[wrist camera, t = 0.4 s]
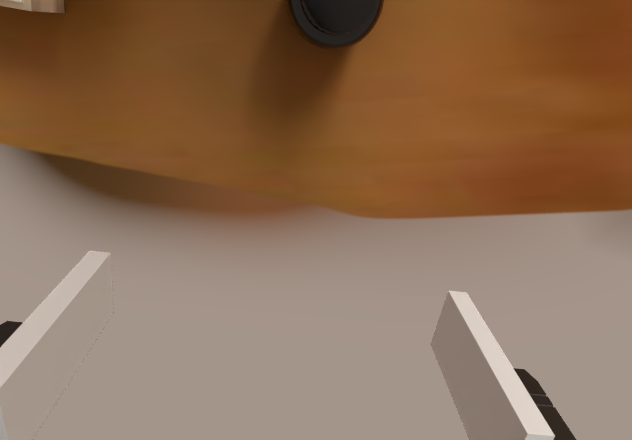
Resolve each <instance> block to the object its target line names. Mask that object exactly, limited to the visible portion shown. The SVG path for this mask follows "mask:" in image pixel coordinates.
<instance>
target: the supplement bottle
mask: <svg viewBox="0 0 632 440" xmlns="http://www.w3.org/2000/svg"><path fill="white" fill-rule="evenodd" d="M383 2H384V0H286V6H287V10H288V14H289V17H290V19H291V21H292V23H293V25H294V26H295V28H296V29H297V31H298V32H299V33H300V34H301V35H302V36H303V37H304V38H305V39H306V40H307V41H309V42H310V43H312V44H314V45H316V46H318V47H321V48H326V49H342V48H346V47H349V46H352V45H354V44H356V43H358V42H359V41H361V40H362V39H363V38H365V37H366V36H367V35H368V34H369V33H370V32H371V30H372V29H373V28H374V26H375V24H376V23H377V21H378V19H379V17H380V14H381V11H382V7H383Z"/></svg>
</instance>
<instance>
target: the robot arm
mask: <svg viewBox="0 0 632 440" xmlns="http://www.w3.org/2000/svg"><path fill="white" fill-rule="evenodd" d="M113 313H114V307H113V287H112V268H111V253H107V252H98V251H89V252H88V253H87V254H86V255H85V256H84V257H83V258H82V259H81V260H80V261H79V263H78V264H77V265H76V266H75V267H74V268H73V269H72V270H71V271H70V272H69V273H68V275H67V276H66V277H65V278H64V279H63V280H62V281H61V282H60V283H59V284H58V286H56V287H55V289H54V290H53V291H52V292H51V293H50V294H49V295H48V296H47V297H46V298H45V299H44V301H43V302H42V303H41V304H40V305H39V306H38V307H37V308H36V309H35V310H34V311H33V312H32V314H31V315H30V316H29V317H28V318H27V319H26V320H25V321H24V322H23V323H22V322H12V321H7V322H5V323H3V324H1V325H0V440H33V439H34V437H35V436H36V434H37V432H38V431H39V429H40V428H41V426H42V425H43V423H44V421H45V420H46V418H47V417H48V415H49V414H50V412H51V410H52V409H53V407H54V406H55V404H56V403H57V401H58V400H59V398H60V396H61V395H62V393H63V392H64V390H65V389H66V387H67V385H68V384H69V382H70V381H71V379H72V378H73V376H74V374H75V373H76V371H77V370H78V368H79V367H80V365H81V364H82V362H83V360H84V359H85V357H86V356H87V354H88V352H89V351H90V349H91V348H92V346H93V345H94V343H95V342H96V340H97V338H98V337H99V335H100V334H101V332H102V330H103V329H104V327H105V326H106V324H107V323H108V321H109V320H110V318H111V317H112V315H113ZM431 347H432V349H433V351H434V354H435V356H436V359H437V361H438V364H439V366H440V369H441V371H442V374H443V376H444V379H445V381H446V383H447V386H448V388H449V391H450V393H451V396H452V398H453V401H454V403H455V406H456V408H457V411H458V413H459V415H460V418H461V420H462V422H463V425H464V427H465V430H466V433H467V435H468V438H469V440H576V439H575V437H574V436H573V434H572V433H571V431H570V430H569V428H568V427H567V425H566V424H565V422H564V421H563V419H562V418H561V416H560V415H559V413H558V411H557V410H556V408H554V407H553V404H552V402H551V401H550V399H549V398H548V397H546V393H545V392H544V391H543V389H542V388H541V386H540V384H539V383H538V381H537V380H536V379H534V378H533V377H532V376H531V375H530V374H529V373H528V372H527V371H526V370H524V369H515V368H513V367H512V366H511V364H510V362H509V361H508V359H507V357H506V356H505V354H504V352H503V351H502V349H501V348H500V346H499V344H498V343H497V341H496V339H495V338H494V336H493V335H492V333H491V331H490V330H489V328H488V327H487V325H486V323H485V322H484V320H483V319H482V317H481V315H480V314H479V312H478V310H477V309H476V307H475V306H474V304H473V302H472V301H471V299H470V297H469V296H468V294H467V293H466V292H457V291H448V293H447V296H446V300H445V302H444V305H443V308H442V311H441V315H440V317H439V320H438V324H437V326H436V330H435V332H434V336H433V339H432V342H431Z"/></svg>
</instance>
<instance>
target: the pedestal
mask: <svg viewBox="0 0 632 440" xmlns="http://www.w3.org/2000/svg"><path fill="white" fill-rule="evenodd" d="M0 6H4V7H10V8H16V9H22V10H27V11H36V12H51V13H65V9H64V0H0Z"/></svg>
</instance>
